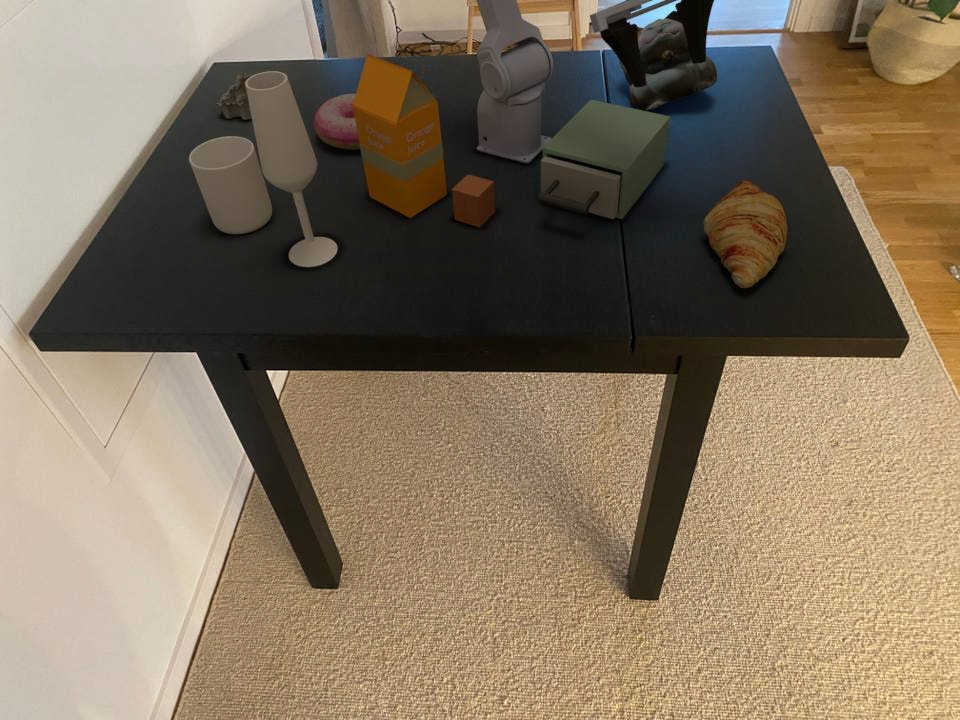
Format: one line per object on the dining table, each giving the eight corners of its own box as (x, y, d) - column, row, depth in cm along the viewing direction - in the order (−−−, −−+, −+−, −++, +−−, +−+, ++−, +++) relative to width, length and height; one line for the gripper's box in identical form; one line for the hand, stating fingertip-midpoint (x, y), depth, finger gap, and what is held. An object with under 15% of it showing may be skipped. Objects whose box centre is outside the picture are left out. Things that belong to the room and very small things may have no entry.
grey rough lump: (248, 91, 135) (242, 69, 132) (284, 95, 133) (278, 73, 130) (216, 118, 128) (208, 95, 125) (252, 123, 126) (246, 100, 123)
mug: (287, 189, 111) (269, 123, 103) (263, 236, 102) (241, 169, 95) (233, 188, 112) (210, 123, 104) (205, 236, 103) (178, 169, 96)
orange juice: (409, 218, 103) (389, 82, 89) (368, 197, 108) (343, 63, 94) (448, 194, 107) (434, 59, 93) (407, 174, 112) (388, 42, 97)
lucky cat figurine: (627, 117, 120) (608, 28, 115) (629, 112, 131) (613, 30, 126) (722, 91, 115) (706, -3, 111) (716, 88, 126) (702, 2, 122)
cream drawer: (598, 239, 96) (601, 199, 92) (523, 217, 101) (523, 177, 96) (653, 168, 107) (658, 129, 103) (584, 151, 112) (586, 113, 107)
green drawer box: (622, 219, 100) (627, 168, 95) (542, 197, 105) (542, 147, 100) (663, 165, 109) (670, 116, 104) (587, 147, 114) (590, 99, 109)
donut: (377, 161, 115) (372, 131, 111) (302, 151, 118) (295, 122, 115) (410, 120, 124) (406, 91, 120) (339, 111, 127) (333, 84, 124)
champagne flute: (344, 239, 101) (305, 68, 84) (327, 269, 96) (281, 96, 79) (299, 234, 102) (251, 66, 85) (280, 264, 98) (225, 92, 81)
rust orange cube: (454, 219, 103) (451, 189, 99) (470, 204, 105) (467, 174, 102) (480, 227, 101) (478, 196, 97) (495, 212, 103) (493, 181, 100)
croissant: (761, 319, 90) (809, 278, 84) (693, 283, 88) (737, 239, 82) (755, 217, 104) (796, 176, 98) (696, 184, 102) (734, 140, 96)
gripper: (594, -34, 76) (627, 97, 81) (719, -82, 77) (744, 50, 82) (572, -24, 82) (604, 96, 88) (687, -69, 83) (712, 53, 89)
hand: (670, 74), depth 85 cm, fingers open, 7 cm apart
